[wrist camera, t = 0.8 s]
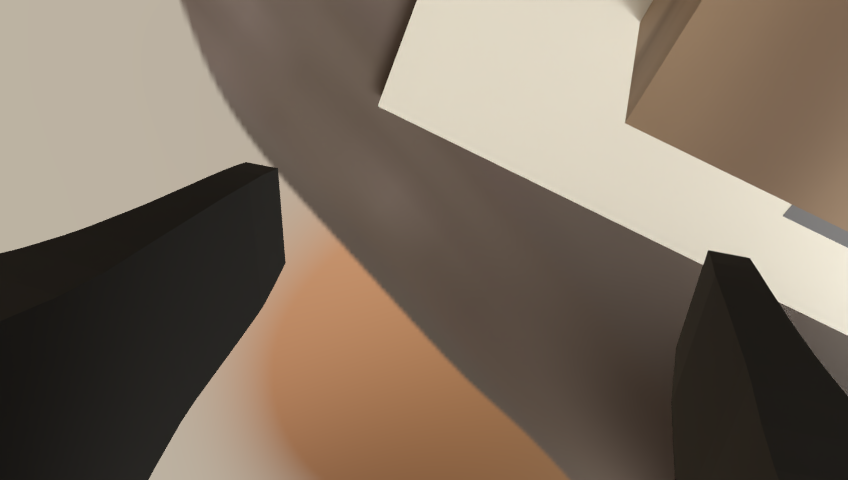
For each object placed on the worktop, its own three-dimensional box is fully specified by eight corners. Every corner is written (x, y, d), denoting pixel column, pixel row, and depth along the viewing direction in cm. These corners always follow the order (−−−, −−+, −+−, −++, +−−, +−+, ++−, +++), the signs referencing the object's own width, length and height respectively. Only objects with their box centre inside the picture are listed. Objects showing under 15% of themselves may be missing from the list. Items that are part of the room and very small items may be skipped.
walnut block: (977, -87, 16) (1105, -3, 11) (819, 109, 19) (864, 240, 14) (762, -189, 16) (796, -152, 11) (639, 22, 19) (625, 123, 14)
